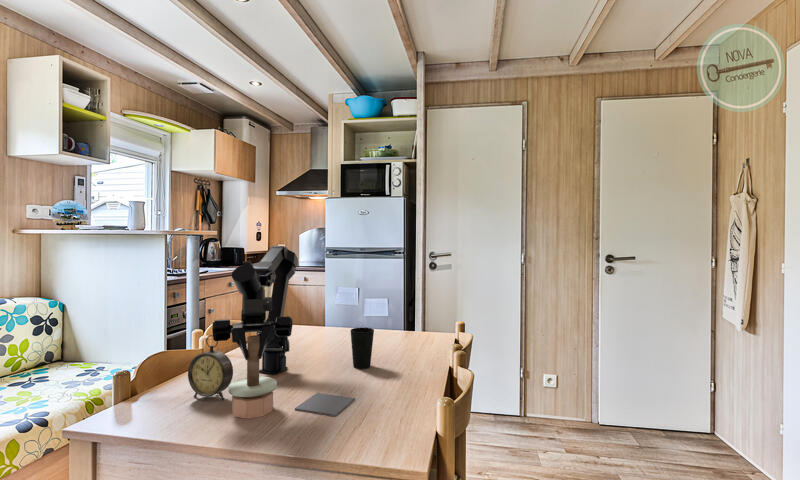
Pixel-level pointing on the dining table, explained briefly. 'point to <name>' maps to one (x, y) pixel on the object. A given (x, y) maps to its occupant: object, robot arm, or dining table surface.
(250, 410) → the bowl
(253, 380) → the wooden peg on disc
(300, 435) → the dining table surface
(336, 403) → the mat
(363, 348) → the cup
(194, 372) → the alarm clock
